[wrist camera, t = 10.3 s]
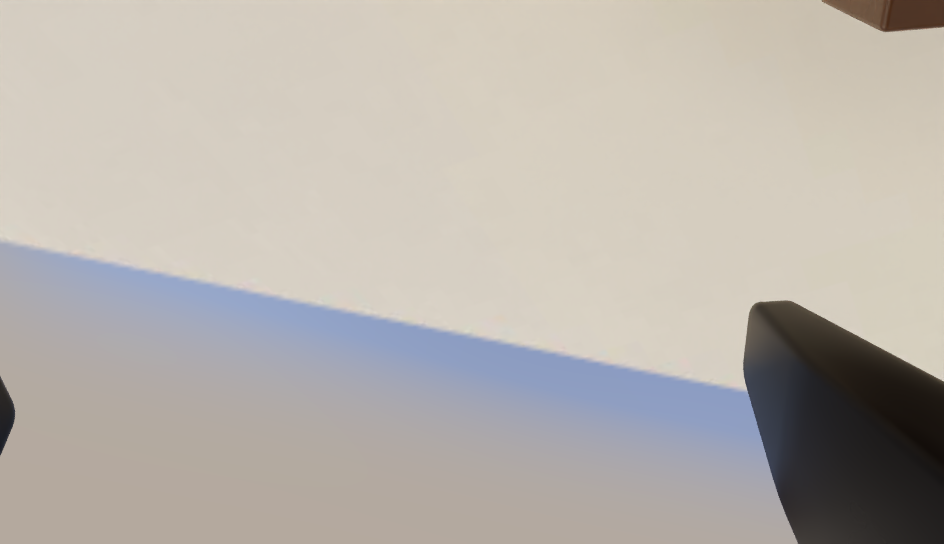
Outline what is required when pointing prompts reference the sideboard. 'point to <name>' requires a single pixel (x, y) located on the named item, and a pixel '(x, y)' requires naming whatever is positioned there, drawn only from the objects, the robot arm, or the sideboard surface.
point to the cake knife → (894, 13)
